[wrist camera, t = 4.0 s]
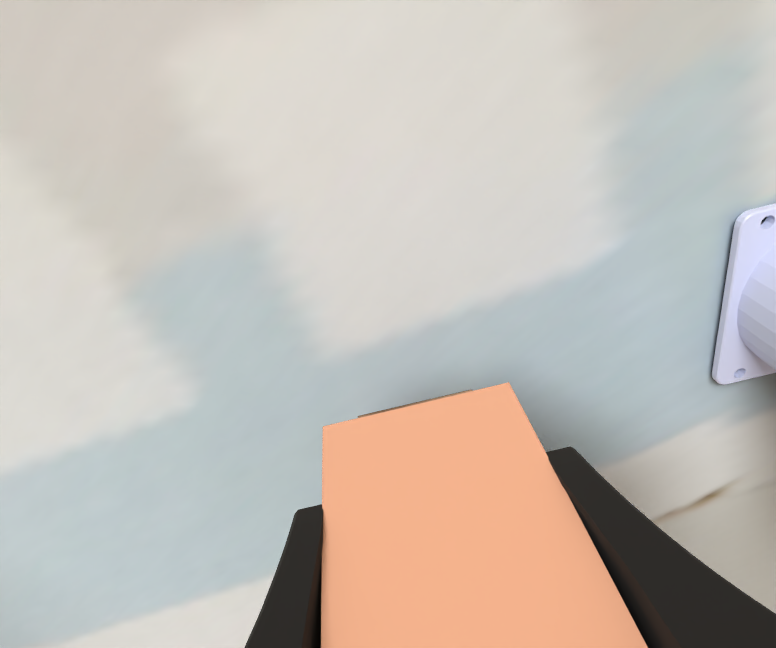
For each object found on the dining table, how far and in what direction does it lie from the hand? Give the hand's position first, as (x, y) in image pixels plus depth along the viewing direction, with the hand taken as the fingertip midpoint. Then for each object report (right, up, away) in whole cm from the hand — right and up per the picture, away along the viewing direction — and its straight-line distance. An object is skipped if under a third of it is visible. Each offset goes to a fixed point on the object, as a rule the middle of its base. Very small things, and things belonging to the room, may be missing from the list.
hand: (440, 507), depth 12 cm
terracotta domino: (0, +1, +2) cm, 2 cm away
